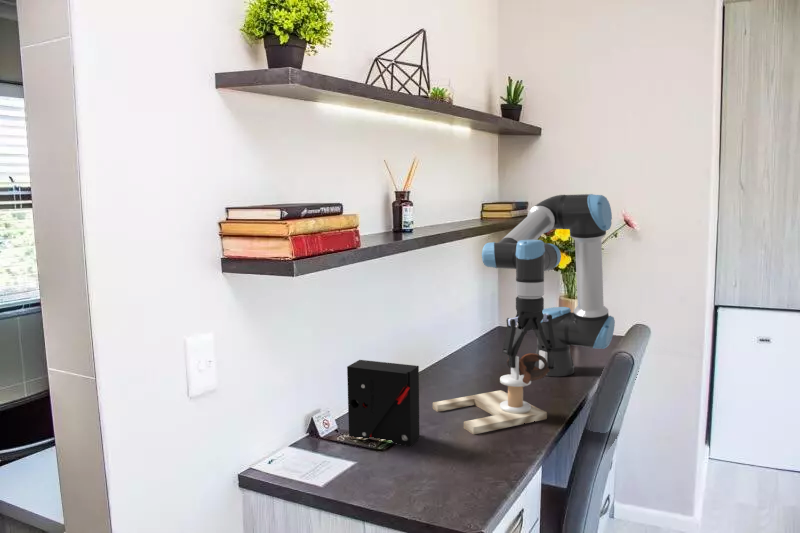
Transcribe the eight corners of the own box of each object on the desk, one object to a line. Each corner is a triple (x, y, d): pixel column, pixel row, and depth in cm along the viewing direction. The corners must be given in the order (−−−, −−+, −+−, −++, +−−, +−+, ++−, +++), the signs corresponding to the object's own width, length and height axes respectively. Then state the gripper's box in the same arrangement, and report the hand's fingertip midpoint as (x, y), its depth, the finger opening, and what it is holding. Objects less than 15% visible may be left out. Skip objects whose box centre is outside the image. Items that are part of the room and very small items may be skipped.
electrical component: (422, 435, 172) (421, 363, 169) (408, 449, 162) (407, 374, 160) (364, 426, 179) (363, 357, 176) (347, 439, 169) (345, 367, 167)
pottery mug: (549, 376, 179) (554, 356, 173) (540, 399, 172) (544, 379, 167) (509, 362, 183) (512, 342, 178) (498, 384, 176) (501, 363, 171)
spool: (518, 401, 192) (518, 372, 191) (537, 410, 184) (537, 380, 183) (493, 406, 188) (494, 376, 187) (511, 415, 180) (512, 385, 179)
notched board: (500, 396, 203) (500, 390, 203) (546, 418, 182) (546, 412, 182) (432, 408, 192) (432, 402, 192) (473, 434, 172) (473, 427, 171)
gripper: (552, 291, 181) (551, 367, 183) (488, 297, 172) (488, 378, 174) (570, 295, 174) (568, 374, 176) (504, 301, 165) (504, 385, 167)
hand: (529, 376), depth 175 cm, fingers closed on pottery mug, 9 cm apart
